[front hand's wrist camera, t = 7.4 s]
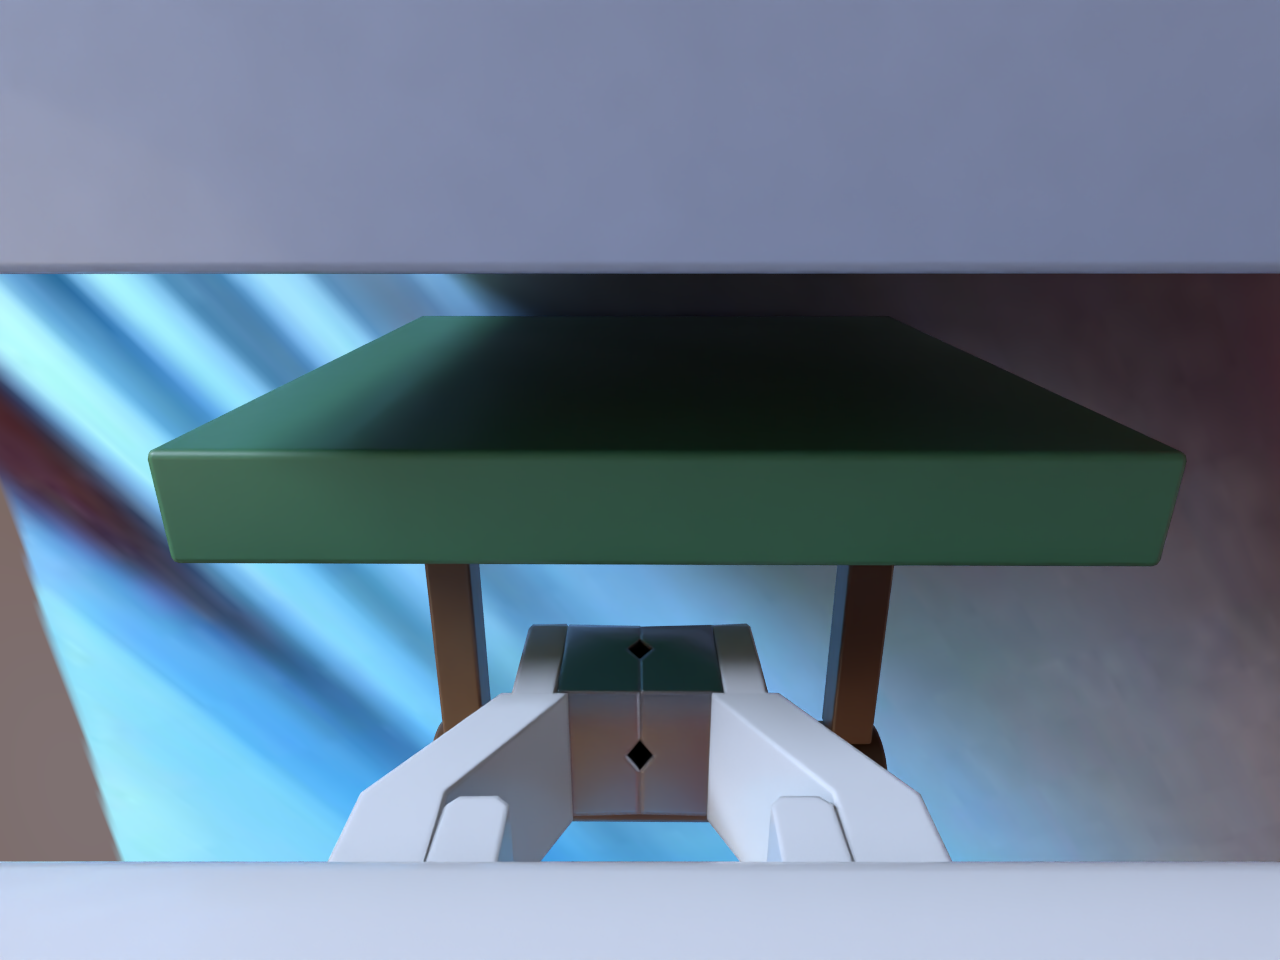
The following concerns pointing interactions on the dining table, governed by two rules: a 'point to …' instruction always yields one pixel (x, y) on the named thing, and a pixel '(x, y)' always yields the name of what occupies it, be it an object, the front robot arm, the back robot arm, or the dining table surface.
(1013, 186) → the cabinet
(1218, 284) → the dining table surface
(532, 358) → the drawer
